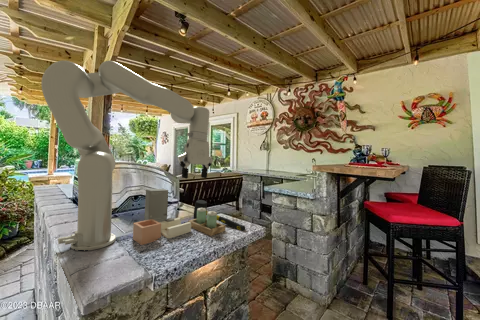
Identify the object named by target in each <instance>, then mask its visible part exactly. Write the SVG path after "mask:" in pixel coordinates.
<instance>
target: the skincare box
mask: <svg viewBox="0 0 480 320" xmlns="http://www.w3.org/2000/svg"><path fill="white" fill-rule="evenodd" d="M144 198H145V201H144V218H143V219H144V220H143V221H145V220H150V219H153V220H155V221H157V222H163V221H165V219H168V204H169V189H167V188H166V189H165V188H146V189H145V197H144Z"/></svg>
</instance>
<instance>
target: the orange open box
mask: <svg viewBox="0 0 480 320" xmlns="http://www.w3.org/2000/svg"><path fill="white" fill-rule="evenodd" d="M132 226H133V227H132V240H134V241H135V242H136V243H137V244H139V245H140V246H143V245H147V244H150V243H153V242H156V241H159V239H160V238H161V236H162V235H161V223H159V222H157V221H155V220H153V219H150V220H145V221H144V220H141V221H137V222H133V225H132Z"/></svg>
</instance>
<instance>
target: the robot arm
mask: <svg viewBox="0 0 480 320" xmlns="http://www.w3.org/2000/svg"><path fill="white" fill-rule="evenodd" d="M41 90H42V95H43V97H44V100H45V102H46V104H47V107H48V108H49V110H50V112H51V113H52V116H53V118H54V120H55V122H56V124H57V126H58V128H59V130H60V132H61V134H62V136H63V138H64V140H65V142H66V143H67V144H68V145H69V146H70V147H71V148H73V149H76V150H77V152H78V153H79V155H80V157H81V158H80V159H79V161H78V163H77V168H76V169H77V170H76V175H77V186H78V187H77V188H78V189H77V190H78V191H77V192H78V193H77V194H78V195H77V199H78V200H77V202H78V203H77V230H75V231H74V233H73V234H70V235H69V236H62V237H58V238H57V243H58V245H62V244H64V246H66V245H70V248H71V249H72V250H74V249H75V250H74V251H78V250H84V252H85V250H88V251H93V250H94V251H95V250H99V249H103V248H106V247H108V246H110V245H112V244H113V243H114V242H116V239H117V236H116V235H115V234H114V233H112V213H113V212H112V211H113V210H112V209H113V172H114V170H115V168H116V160H115V157H114V155H113V153H112V150H111V149H110V147H109V144H108V142H107V141H106V138H105V136H104V135H103V133H102V131H101V130H100V129H99V128H98V127H96V126H95V125H94V124H93V123H92V121H91V119H90V117H89V115H88V113H87V111H86V109H85V107H84V105H83V103H82V101H81V99H82V98H83V99H88V98H96V97H102V96H108V95H114V94H115V95H116V94H120V93H121V94H123V95H125V96H127V97H129V98H131V99H133V100H134V101H136V102H138V103H140V104H143V105H150V106H154V107H157V108H159V109H162V110H164V111H166V112H168V113H170V117H171V120H173V121H174V122H175V123H178V124H189V131H188V132H187V133H186V136H187V137H188V139H186V140H187V141H186V144H185V148H184V152H183V154H180V155H178V156H177V161H178V165H179V166H180V167H181V178H182V179H188V178H189V168H188V167H189V166H191V165H201V167H202V168H201V174H200V175H201V176H200V177H201V178H202V179H207V178H208V170H209V169H210V167H211V166H212V163H213V161H214V159H213V158H212V157H211V156H210V142H209V141H208V133H209V123H210V121H209V120H210V109H208V108H206V107H204V106H194V105H193V104H192V102H191V101H189V100H188V99H187V98H184V97H183V96H181V95H180V94H178V93H177V92H175V91H173V90H171V89H169V88H166V87H163V86H161V85H158V84H157V83H152V82H151V81H149V80H147V78H144V77H143V76H141V75H139V74H137V73H135V72H134V71H132V70H131V69H129V68H127V67H126V66H123V65H122V64H121V63H118V62H116V61H113V60H104V61H103V62H101V64H100V65H99V66H98V71H97V72H88V73H87V72H86V71H85V69H84V68H83V67H82V66H80V65H78V64H77V63H75V62H73V61H70V60H59V61H55V62H54V63H52V64H51V65H49V66H48V67H47V68H46V69H45V71H44V72H43V75H42V77H41Z"/></svg>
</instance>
